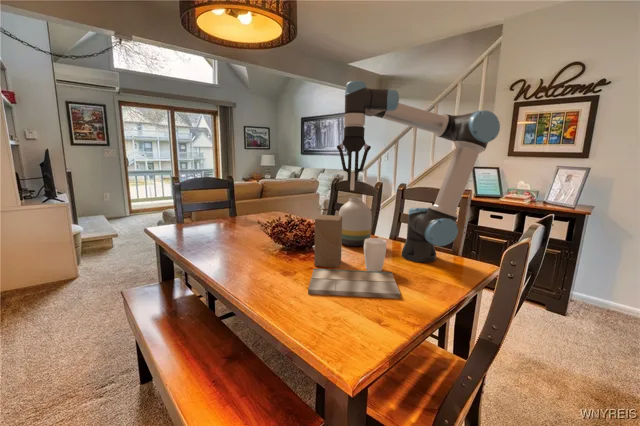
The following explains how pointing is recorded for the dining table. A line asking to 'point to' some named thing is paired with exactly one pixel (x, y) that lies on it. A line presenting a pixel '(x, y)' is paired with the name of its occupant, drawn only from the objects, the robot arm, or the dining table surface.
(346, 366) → the dining table surface
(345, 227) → the vase
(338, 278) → the plank
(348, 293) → the laid row
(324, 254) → the wooden block
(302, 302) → the dining table surface
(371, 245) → the cup
